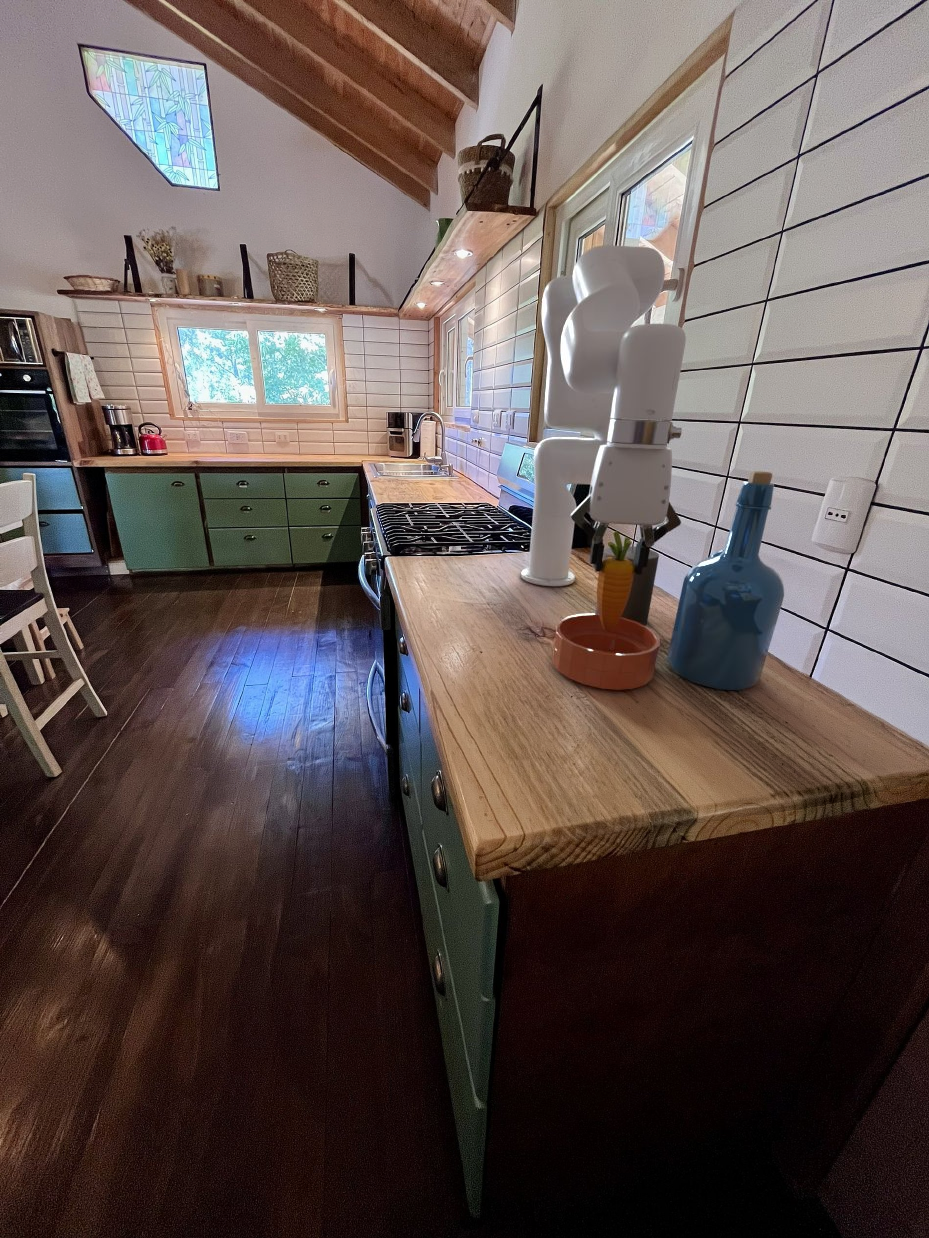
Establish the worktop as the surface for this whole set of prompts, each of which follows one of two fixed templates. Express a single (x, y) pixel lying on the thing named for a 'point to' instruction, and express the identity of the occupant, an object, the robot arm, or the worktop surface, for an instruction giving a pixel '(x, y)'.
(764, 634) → the wine bottle
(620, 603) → the carrot
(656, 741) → the worktop surface
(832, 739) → the worktop surface
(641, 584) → the pillar candle
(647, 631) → the bowl
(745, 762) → the worktop surface
